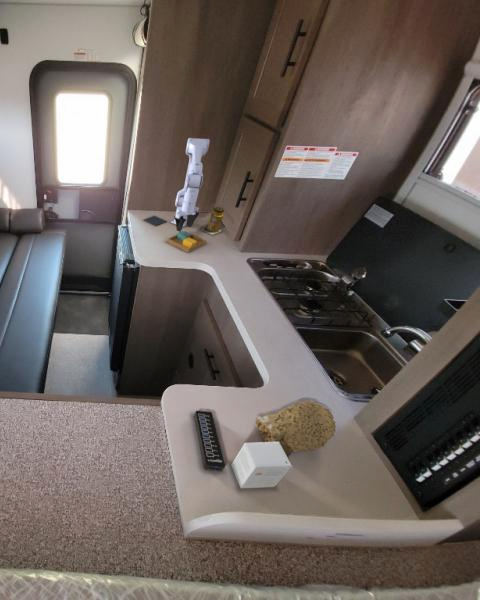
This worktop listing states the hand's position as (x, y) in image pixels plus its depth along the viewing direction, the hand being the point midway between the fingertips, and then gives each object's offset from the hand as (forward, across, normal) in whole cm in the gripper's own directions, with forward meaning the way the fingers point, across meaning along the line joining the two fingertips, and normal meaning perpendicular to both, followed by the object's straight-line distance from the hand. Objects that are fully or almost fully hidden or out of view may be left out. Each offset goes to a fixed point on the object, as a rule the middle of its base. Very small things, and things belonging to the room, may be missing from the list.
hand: (183, 228), depth 158 cm
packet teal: (+8, +5, +3) cm, 10 cm away
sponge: (+9, -57, -82) cm, 101 cm away
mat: (+9, +11, +26) cm, 30 cm away
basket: (+9, +4, -1) cm, 10 cm away
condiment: (+9, +26, 0) cm, 28 cm away
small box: (+9, -76, -82) cm, 112 cm away
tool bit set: (+9, -77, -70) cm, 105 cm away
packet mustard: (+8, +2, -4) cm, 9 cm away
